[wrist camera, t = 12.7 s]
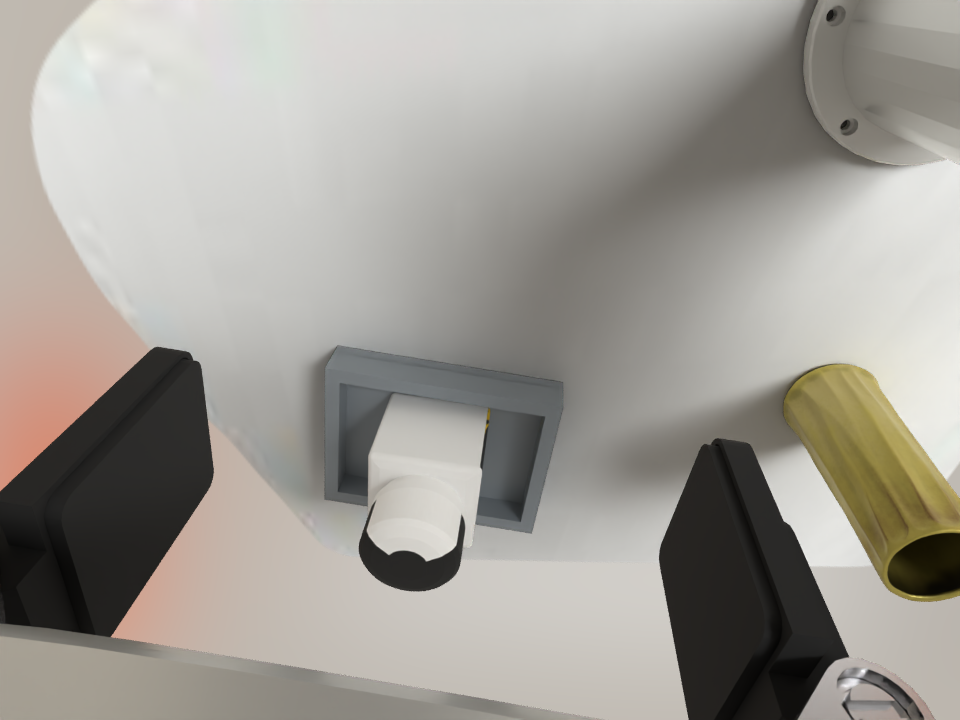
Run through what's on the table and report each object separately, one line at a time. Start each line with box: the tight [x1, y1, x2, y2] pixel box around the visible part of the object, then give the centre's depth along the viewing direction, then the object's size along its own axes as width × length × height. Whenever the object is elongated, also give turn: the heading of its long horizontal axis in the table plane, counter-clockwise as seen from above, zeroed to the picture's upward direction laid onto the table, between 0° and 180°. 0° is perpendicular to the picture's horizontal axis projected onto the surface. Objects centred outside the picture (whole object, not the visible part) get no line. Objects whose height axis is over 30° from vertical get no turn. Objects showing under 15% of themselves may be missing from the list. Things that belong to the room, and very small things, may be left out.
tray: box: [325, 346, 563, 534], centre depth 46 cm, size 16×12×3 cm
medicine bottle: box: [359, 393, 490, 591], centre depth 41 cm, size 7×7×12 cm
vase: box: [783, 364, 960, 602], centre depth 37 cm, size 6×6×14 cm
